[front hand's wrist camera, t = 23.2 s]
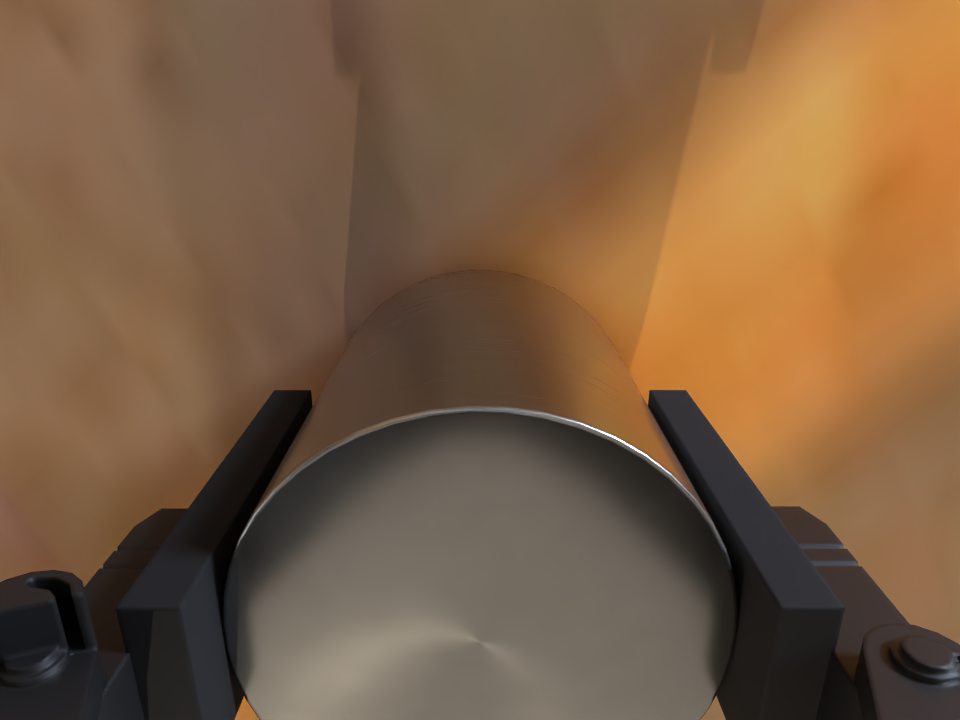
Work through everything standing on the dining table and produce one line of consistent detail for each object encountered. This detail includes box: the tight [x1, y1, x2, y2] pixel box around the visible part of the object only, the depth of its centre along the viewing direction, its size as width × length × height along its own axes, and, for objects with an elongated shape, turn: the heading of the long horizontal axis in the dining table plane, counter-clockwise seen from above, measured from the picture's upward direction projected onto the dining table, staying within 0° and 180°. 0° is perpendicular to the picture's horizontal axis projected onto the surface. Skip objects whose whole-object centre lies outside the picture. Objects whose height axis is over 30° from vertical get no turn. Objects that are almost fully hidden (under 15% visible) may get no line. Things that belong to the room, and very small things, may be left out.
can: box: [223, 270, 738, 720], centre depth 13 cm, size 7×7×7 cm
